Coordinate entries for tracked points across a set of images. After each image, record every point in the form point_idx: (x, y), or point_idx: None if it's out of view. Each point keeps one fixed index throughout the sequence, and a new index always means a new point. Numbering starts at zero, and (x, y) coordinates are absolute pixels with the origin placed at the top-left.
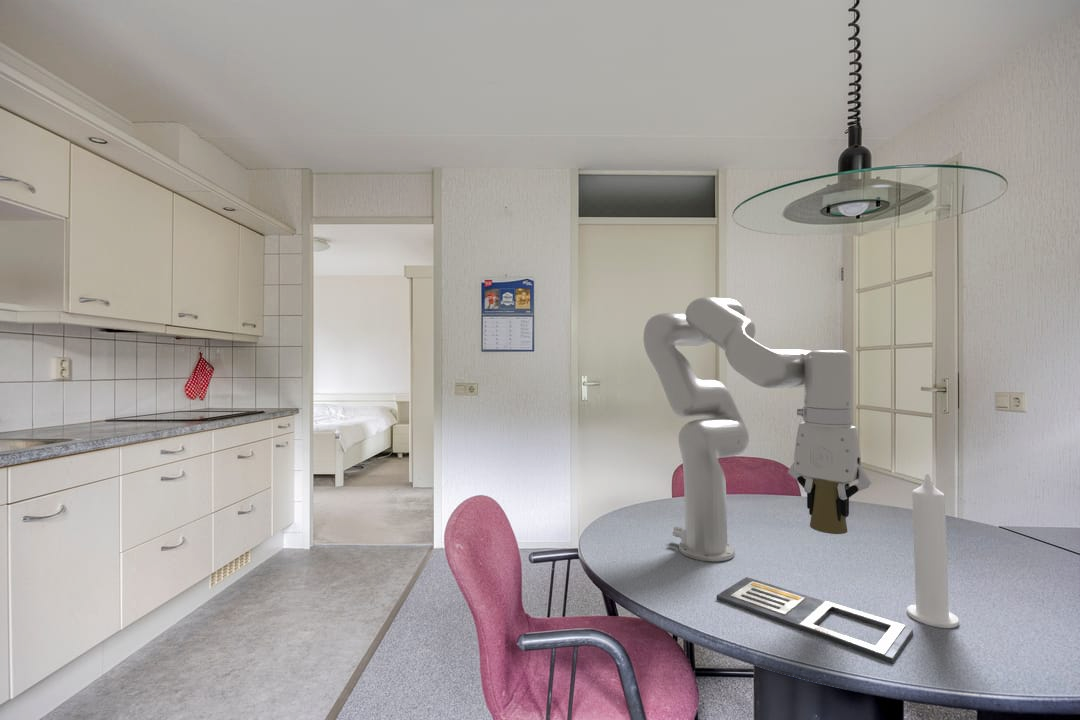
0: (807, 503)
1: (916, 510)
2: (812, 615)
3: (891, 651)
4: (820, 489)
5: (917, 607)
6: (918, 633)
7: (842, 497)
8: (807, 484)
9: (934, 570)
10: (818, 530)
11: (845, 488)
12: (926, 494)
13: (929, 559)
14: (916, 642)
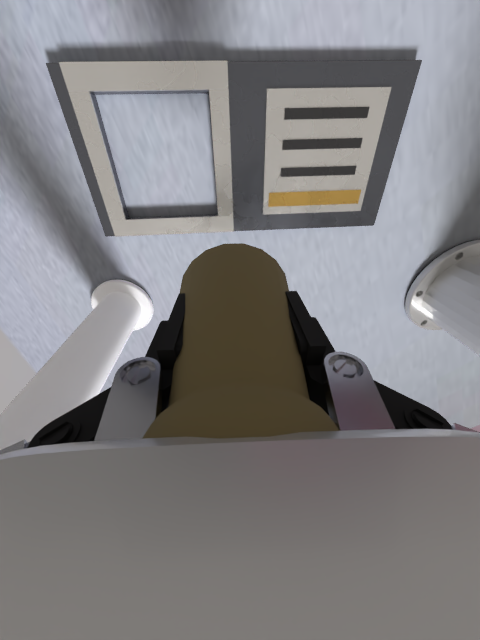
0: (318, 325)
1: None
2: (225, 138)
3: (65, 98)
4: (263, 368)
5: (131, 301)
6: (106, 242)
7: (144, 369)
8: (362, 394)
9: (70, 338)
10: (246, 246)
11: (103, 426)
12: None
13: (64, 349)
14: (89, 207)
